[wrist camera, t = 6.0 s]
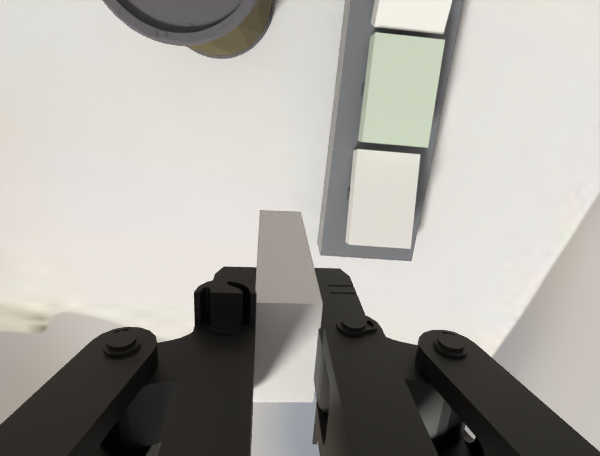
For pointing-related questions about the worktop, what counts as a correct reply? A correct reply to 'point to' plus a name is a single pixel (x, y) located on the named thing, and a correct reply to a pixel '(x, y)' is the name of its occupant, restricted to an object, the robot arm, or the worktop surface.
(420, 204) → the rocker switch panel
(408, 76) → the rocker mid
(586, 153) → the worktop surface
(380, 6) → the block
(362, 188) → the block
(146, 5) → the canister
